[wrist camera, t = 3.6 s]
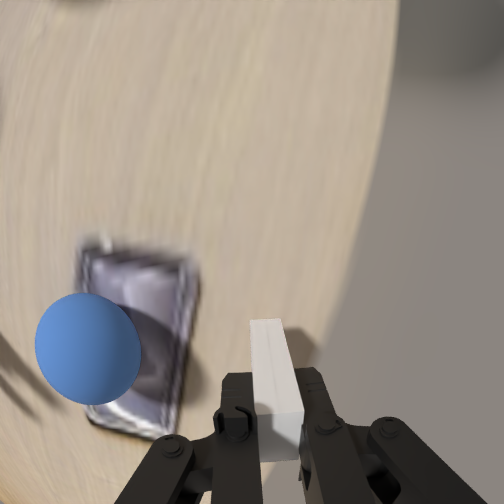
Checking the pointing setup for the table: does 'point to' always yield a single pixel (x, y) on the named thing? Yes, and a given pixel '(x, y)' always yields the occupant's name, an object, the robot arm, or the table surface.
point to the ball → (88, 349)
